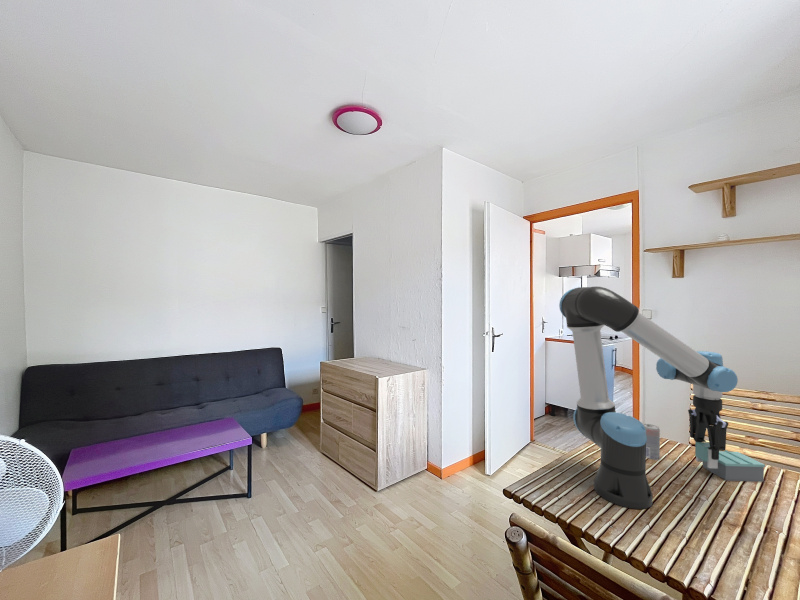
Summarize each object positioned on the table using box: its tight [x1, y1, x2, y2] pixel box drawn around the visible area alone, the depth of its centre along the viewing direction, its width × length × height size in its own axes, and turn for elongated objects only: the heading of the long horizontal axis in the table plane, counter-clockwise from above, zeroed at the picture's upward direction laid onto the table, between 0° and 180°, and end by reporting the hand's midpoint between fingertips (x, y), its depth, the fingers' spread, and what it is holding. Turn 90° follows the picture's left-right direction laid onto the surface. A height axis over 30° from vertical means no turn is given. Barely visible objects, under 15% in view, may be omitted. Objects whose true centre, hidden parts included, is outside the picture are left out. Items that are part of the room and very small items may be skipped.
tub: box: [702, 462, 765, 483], centre depth 117 cm, size 12×9×6 cm
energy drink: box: [643, 423, 661, 460], centre depth 129 cm, size 5×5×12 cm
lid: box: [694, 441, 766, 468], centre depth 117 cm, size 17×9×6 cm, turn 87°
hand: (706, 464), depth 117 cm, fingers closed on lid, 4 cm apart
